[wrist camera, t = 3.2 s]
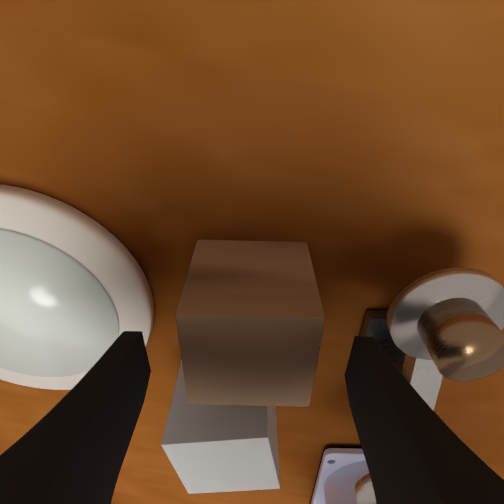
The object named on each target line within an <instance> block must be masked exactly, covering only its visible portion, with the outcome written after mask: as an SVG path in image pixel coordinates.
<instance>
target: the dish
mask: <svg viewBox="0 0 504 504" xmlns="http://www.w3.org/2000/svg"><path fill="white" fill-rule="evenodd" d="M154 312H155V310H154V300H153V296H152V292H151V288H150V286H149V283H148V281H147V279H146V276H145V274H144V273H143V271H142V269H141V268H140V266H139V264H138V263H137V261H136V260H135V258H134V257H133V256H132V255H131V253H130V252H129V251H128V250H127V248H126V247H125V246H124V245H123V244H122V243H121V242H120V241H119V240H118V239H117V238H116V237H115V236H114V235H113V234H111V233H110V232H109V231H108V230H107V229H105V228H104V227H103V226H102V225H100V224H99V223H98V222H96V221H95V220H93V219H92V218H90V217H89V216H87V215H86V214H84V213H83V212H81V211H79V210H77V209H75V208H73V207H72V206H70V205H68V204H66V203H64V202H62V201H59V200H57V199H54V198H52V197H50V196H47V195H44V194H41V193H38V192H35V191H32V190H28V189H25V188H19V187H14V186H9V185H2V184H0V379H1V380H4V381H8V382H11V383H15V384H19V385H24V386H29V387H35V388H42V389H54V390H71V389H72V388H73V387H74V386H75V385H76V384H77V383H78V382H79V381H80V380H81V379H82V378H83V377H84V375H85V374H86V373H87V372H88V371H89V370H90V369H91V368H92V367H93V366H94V365H95V363H96V362H97V361H98V360H99V359H100V358H101V357H102V355H103V354H104V353H105V352H106V351H107V350H108V348H109V347H110V346H111V345H112V344H113V343H114V341H115V340H116V339H117V338H118V337H119V336H120V334H121V333H122V332H124V331H142V334H143V338H144V343H145V347H146V344H147V341H148V338H149V336H150V333H151V330H152V326H153V323H154Z"/></svg>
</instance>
